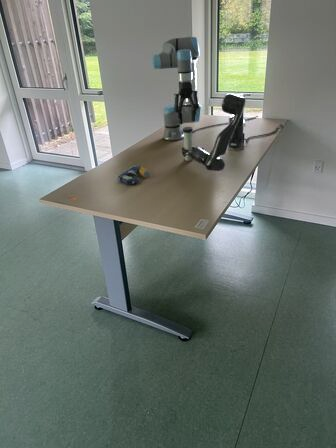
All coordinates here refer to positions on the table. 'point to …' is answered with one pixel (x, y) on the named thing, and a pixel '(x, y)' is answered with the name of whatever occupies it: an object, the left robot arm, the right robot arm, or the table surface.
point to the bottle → (188, 144)
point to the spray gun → (133, 172)
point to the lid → (187, 129)
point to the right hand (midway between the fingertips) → (186, 148)
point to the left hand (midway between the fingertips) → (187, 122)
